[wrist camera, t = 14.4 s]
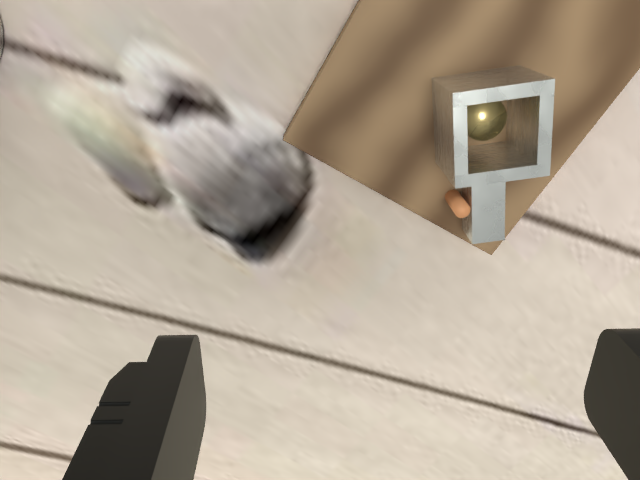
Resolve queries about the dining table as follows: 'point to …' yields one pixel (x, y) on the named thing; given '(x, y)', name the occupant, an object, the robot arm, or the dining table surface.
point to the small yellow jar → (485, 120)
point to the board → (449, 59)
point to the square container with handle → (493, 158)
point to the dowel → (457, 203)
